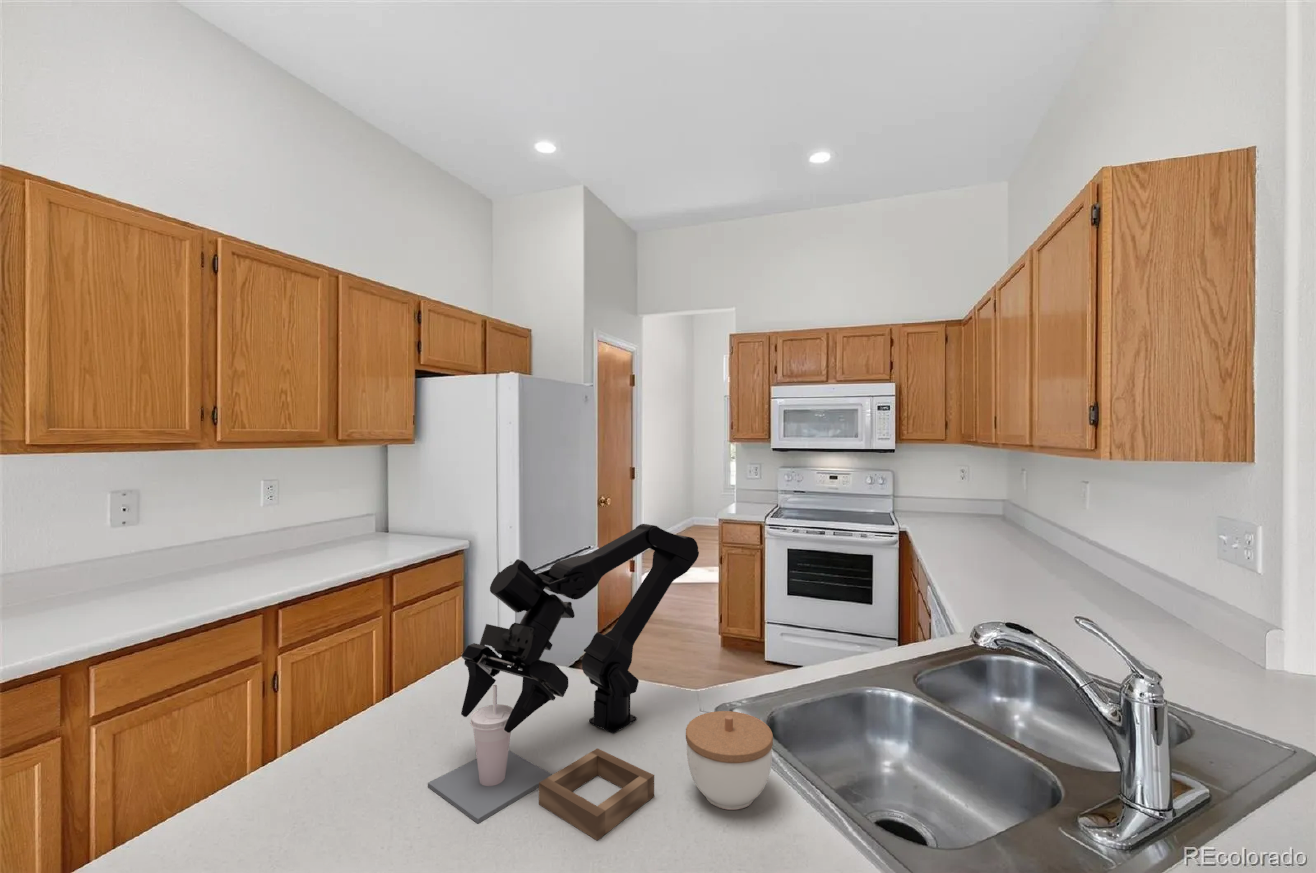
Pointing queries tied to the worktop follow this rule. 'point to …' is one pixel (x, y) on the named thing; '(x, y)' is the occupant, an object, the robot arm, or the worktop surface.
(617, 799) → the walnut holder
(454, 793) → the slate mat
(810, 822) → the worktop surface
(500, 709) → the smoothie
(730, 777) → the lidded bowl
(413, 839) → the worktop surface
